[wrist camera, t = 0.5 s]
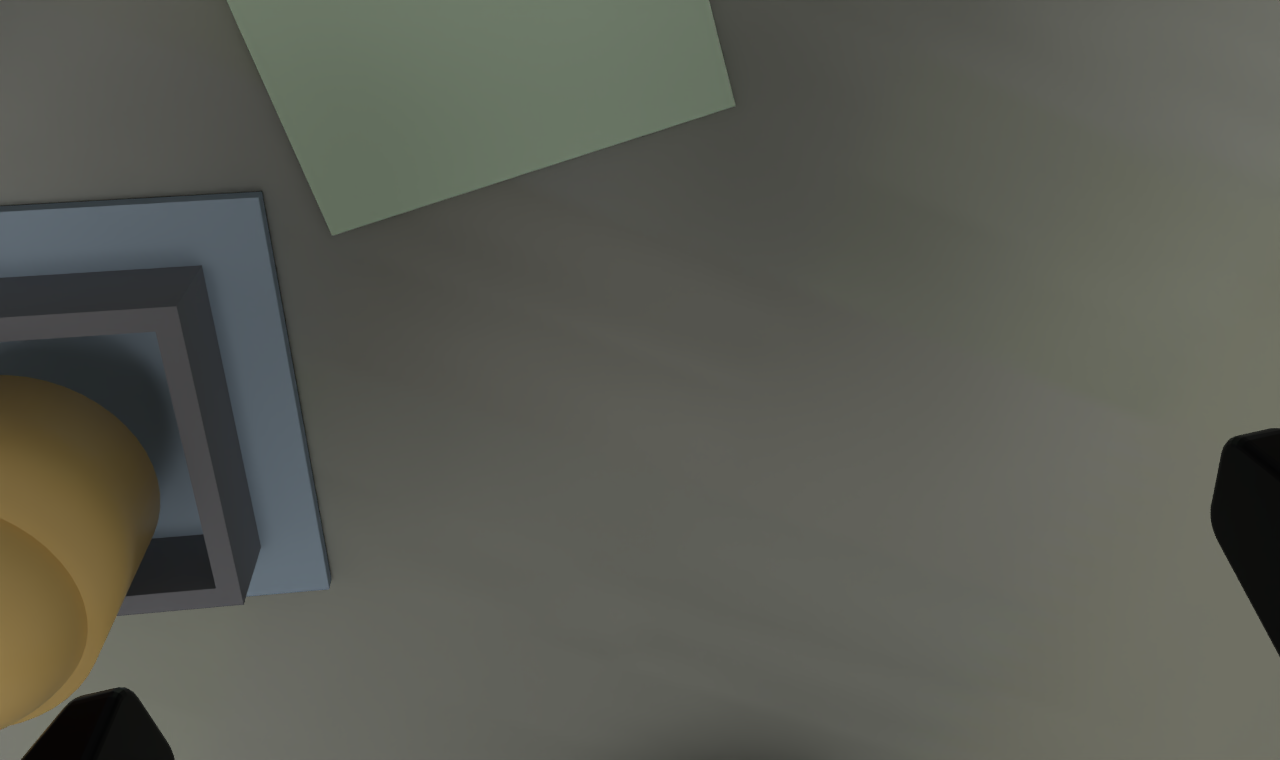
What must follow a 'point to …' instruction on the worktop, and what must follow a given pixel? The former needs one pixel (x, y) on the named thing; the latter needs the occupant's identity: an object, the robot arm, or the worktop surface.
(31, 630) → the dome
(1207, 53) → the worktop surface
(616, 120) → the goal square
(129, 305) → the tile
